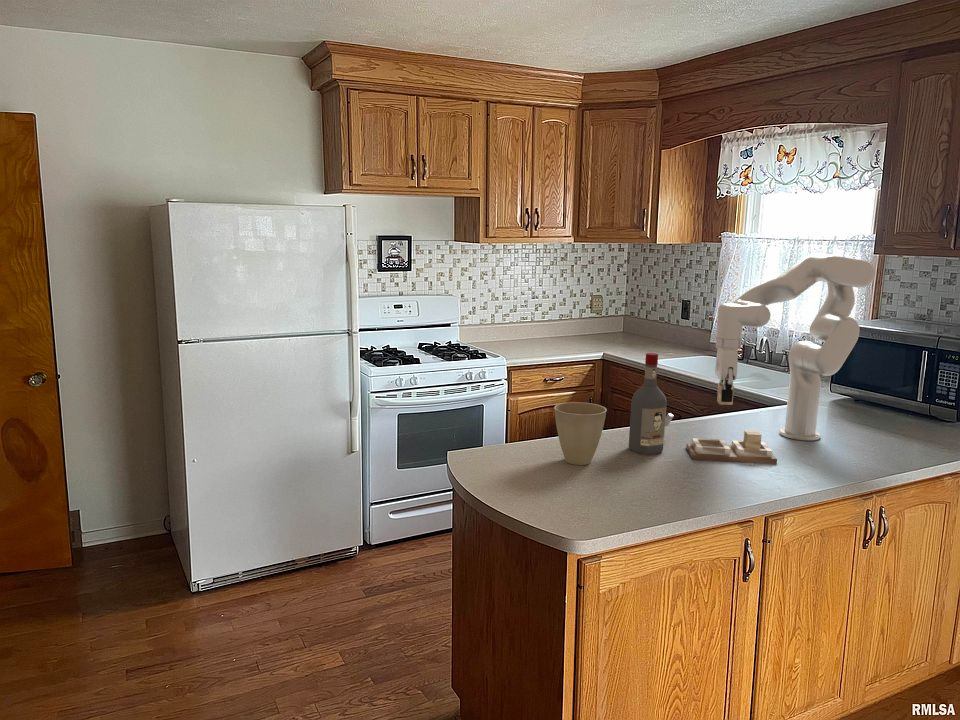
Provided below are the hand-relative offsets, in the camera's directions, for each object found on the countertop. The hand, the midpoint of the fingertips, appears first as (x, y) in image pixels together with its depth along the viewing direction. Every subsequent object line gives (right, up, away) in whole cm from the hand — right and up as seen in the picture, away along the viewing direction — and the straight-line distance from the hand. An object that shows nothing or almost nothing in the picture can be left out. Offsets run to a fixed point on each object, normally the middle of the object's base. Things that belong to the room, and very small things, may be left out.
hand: (725, 399), depth 240 cm
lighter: (-19, -12, +7) cm, 23 cm away
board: (-2, -16, -12) cm, 21 cm away
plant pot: (-50, -17, -20) cm, 56 cm away
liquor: (-27, -15, -9) cm, 32 cm away
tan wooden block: (0, -1, 0) cm, 1 cm away
